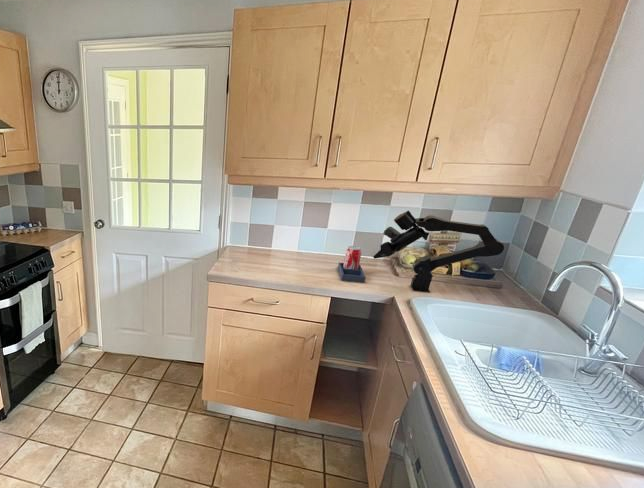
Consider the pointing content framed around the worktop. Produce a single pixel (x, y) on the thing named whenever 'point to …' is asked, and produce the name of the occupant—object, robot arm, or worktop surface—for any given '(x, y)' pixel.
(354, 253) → the soda can
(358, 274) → the can rack
